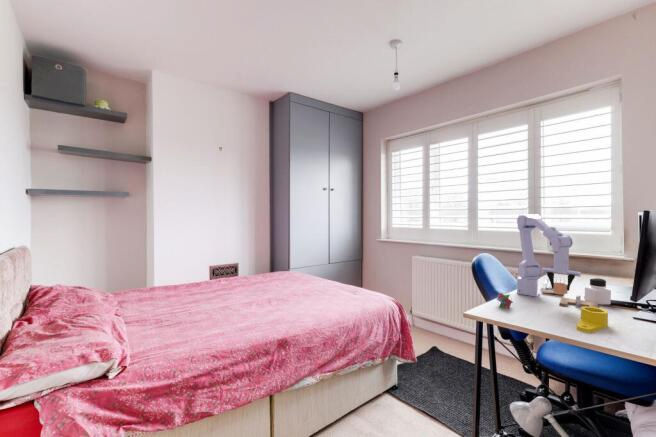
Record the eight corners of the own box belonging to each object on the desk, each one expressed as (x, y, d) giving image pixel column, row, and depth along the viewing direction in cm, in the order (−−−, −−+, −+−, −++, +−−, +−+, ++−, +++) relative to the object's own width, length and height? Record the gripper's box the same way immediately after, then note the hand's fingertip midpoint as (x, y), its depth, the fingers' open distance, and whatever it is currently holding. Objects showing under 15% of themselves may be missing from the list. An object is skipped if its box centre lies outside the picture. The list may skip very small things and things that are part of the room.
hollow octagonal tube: (552, 292, 144) (553, 284, 144) (554, 290, 148) (554, 282, 148) (566, 294, 141) (566, 286, 141) (567, 292, 145) (567, 283, 144)
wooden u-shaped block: (559, 305, 148) (559, 302, 148) (561, 299, 157) (561, 297, 157) (597, 311, 139) (597, 309, 139) (597, 305, 148) (597, 302, 148)
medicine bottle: (610, 304, 148) (611, 280, 148) (596, 304, 148) (596, 280, 148) (598, 300, 155) (598, 277, 155) (584, 300, 156) (584, 277, 155)
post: (574, 307, 145) (574, 295, 145) (574, 305, 147) (574, 294, 147) (581, 308, 143) (582, 297, 143) (581, 307, 145) (582, 295, 145)
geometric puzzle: (519, 305, 142) (510, 289, 147) (509, 306, 140) (500, 290, 144) (508, 310, 148) (499, 294, 152) (498, 312, 145) (490, 296, 150)
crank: (584, 318, 131) (584, 305, 131) (610, 324, 124) (610, 310, 124) (569, 328, 121) (569, 313, 120) (596, 336, 114) (597, 320, 114)
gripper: (541, 260, 146) (540, 288, 146) (580, 264, 136) (579, 293, 137) (543, 258, 151) (542, 285, 151) (581, 261, 141) (580, 290, 142)
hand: (560, 289), depth 144 cm, fingers closed on hollow octagonal tube, 5 cm apart
